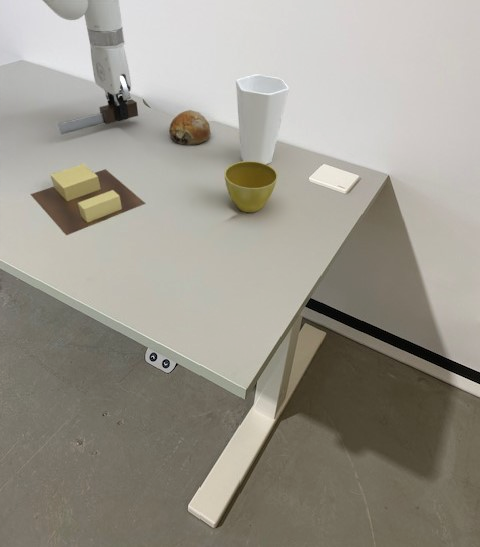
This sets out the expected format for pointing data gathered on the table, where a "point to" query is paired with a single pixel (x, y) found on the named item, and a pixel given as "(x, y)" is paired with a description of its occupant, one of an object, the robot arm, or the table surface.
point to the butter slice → (100, 206)
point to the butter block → (75, 182)
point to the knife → (97, 118)
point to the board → (68, 211)
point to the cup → (260, 115)
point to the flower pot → (250, 184)
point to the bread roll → (189, 128)
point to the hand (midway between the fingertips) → (119, 116)
